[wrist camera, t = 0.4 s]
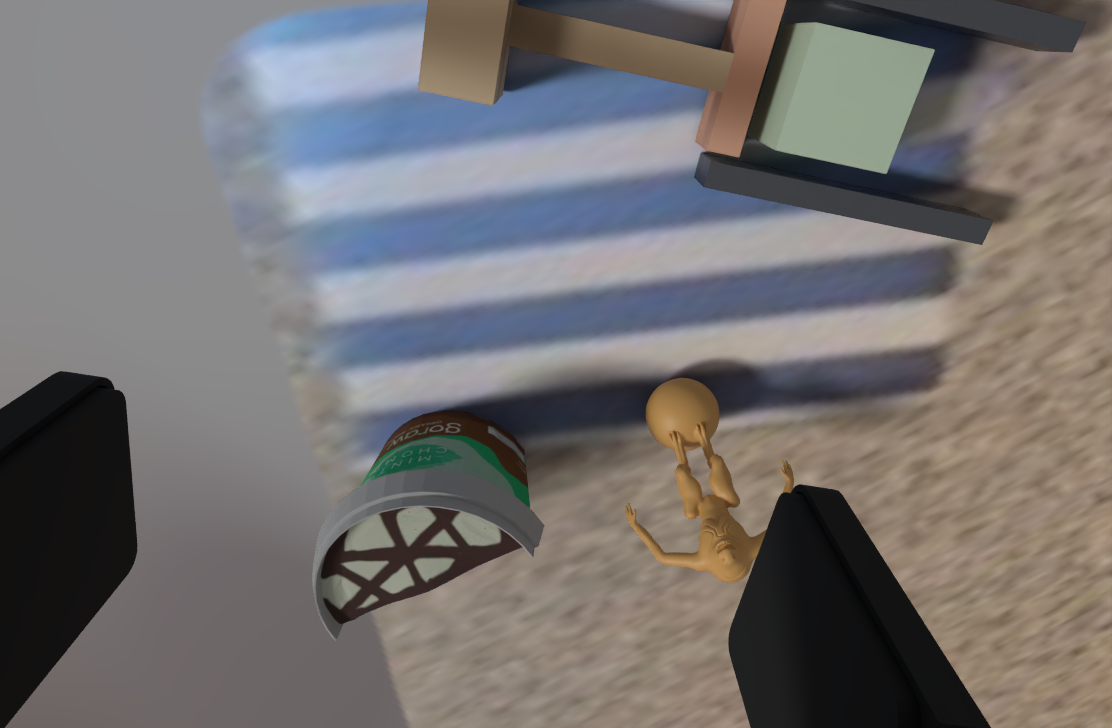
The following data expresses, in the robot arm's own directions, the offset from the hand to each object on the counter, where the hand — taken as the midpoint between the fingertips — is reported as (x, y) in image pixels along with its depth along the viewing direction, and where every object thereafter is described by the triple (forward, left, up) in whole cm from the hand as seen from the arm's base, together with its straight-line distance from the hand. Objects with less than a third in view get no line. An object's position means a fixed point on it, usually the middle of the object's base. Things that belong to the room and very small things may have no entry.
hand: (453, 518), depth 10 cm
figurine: (+12, +11, -28) cm, 32 cm away
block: (-6, +13, -28) cm, 31 cm away
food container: (+17, -3, -28) cm, 33 cm away
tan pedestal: (-6, +2, -27) cm, 28 cm away
